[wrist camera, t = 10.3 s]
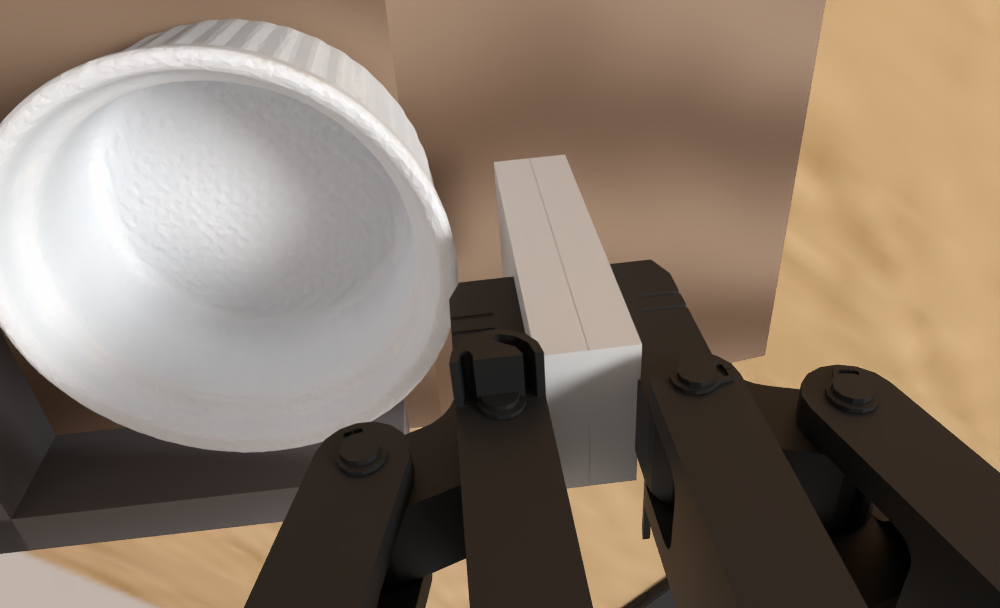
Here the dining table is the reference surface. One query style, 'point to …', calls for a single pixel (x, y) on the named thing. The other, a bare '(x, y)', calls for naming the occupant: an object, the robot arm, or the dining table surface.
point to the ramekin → (223, 239)
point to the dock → (453, 199)
